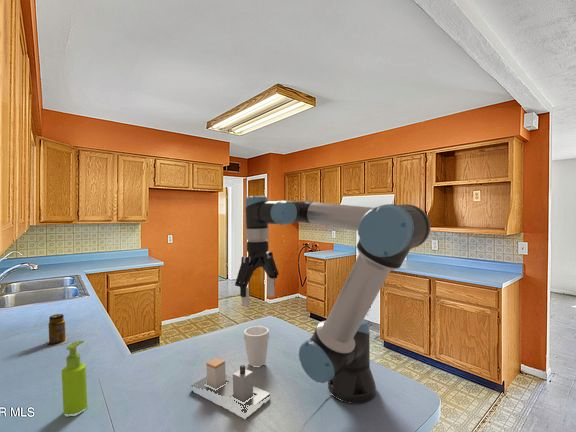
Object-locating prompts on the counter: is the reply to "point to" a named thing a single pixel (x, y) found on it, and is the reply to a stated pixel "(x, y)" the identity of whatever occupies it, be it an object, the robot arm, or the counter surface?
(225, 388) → the socket strip
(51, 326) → the condiment
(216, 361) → the plug
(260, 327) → the foam cup
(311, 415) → the counter surface
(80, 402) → the soap dispenser
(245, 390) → the grey tall block
